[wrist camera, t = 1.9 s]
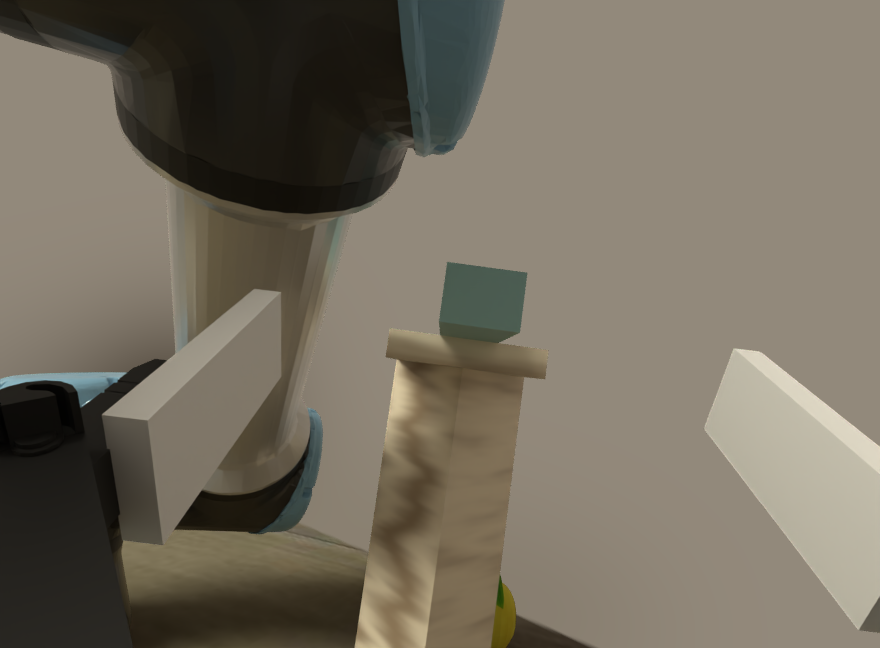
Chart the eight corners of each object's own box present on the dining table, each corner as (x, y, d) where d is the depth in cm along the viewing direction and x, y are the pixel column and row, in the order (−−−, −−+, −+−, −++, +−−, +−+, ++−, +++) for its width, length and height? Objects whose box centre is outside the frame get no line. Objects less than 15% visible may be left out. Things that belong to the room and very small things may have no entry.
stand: (318, 792, 32) (387, 327, 35) (363, 641, 50) (406, 341, 53) (494, 819, 32) (550, 350, 35) (476, 658, 50) (514, 356, 53)
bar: (519, 332, 25) (527, 272, 25) (439, 321, 25) (447, 262, 25) (480, 351, 51) (484, 321, 51) (441, 345, 51) (445, 316, 51)
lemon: (493, 686, 46) (507, 572, 47) (441, 657, 49) (455, 552, 50) (526, 658, 51) (537, 556, 52) (476, 634, 55) (488, 539, 56)
